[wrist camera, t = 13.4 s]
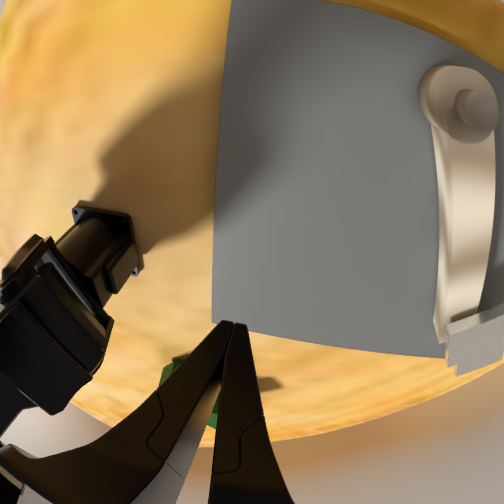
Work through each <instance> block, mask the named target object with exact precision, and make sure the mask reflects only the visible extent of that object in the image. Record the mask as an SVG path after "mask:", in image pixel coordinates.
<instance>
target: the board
mask: <svg viewBox="0 0 504 504" xmlns="http://www.w3.org/2000/svg"><path fill="white" fill-rule="evenodd" d="M437 65H451V66H459V67H467V68H471V69H473V70H475V71H477V72H479V73H480V74H482V75H483V76H484V77H485V78H486V79H487V81H488V82H489V83H490V85H491V86H492V88H493V90H494V92H495V95H496V98H497V103H498V109H499V121H498V124H497V126H496V127H495V128H494V141H495V204H494V217H493V228H492V236H491V244H490V251H489V258H488V263H487V269H486V274H485V279H484V284H483V289H482V293H481V297H480V302H479V306H478V309H477V313H476V314H478V313H480V312H483V311H485V310H488V309H490V308H493V307H495V306H498V305H500V304H503V303H504V73H502V72H501V71H499V70H498V69H496V68H495V67H493V66H492V65H490V64H488V63H487V62H485V61H483V60H482V59H480V58H478V57H477V56H475V55H473V54H471V53H470V52H468V51H466V50H464V49H462V48H460V47H458V46H456V45H454V44H452V43H450V42H448V41H446V40H444V39H442V38H440V37H438V36H436V35H433V34H431V33H429V32H426V31H424V30H422V29H419V28H417V27H414V26H412V25H409V24H406V23H404V22H401V21H398V20H395V19H392V18H389V17H386V16H383V15H380V14H377V13H374V12H370V11H367V10H363V9H359V8H355V7H351V6H347V5H343V4H339V3H334V2H329V1H324V0H232V2H231V10H230V18H229V26H228V35H227V44H226V54H225V63H224V74H223V85H222V96H221V109H220V122H219V136H218V151H217V167H216V186H215V207H214V233H213V268H212V323H216V324H218V323H219V322H220V321H221V320H228V321H232V322H234V323H236V322H238V323H243V324H246V325H247V327H248V331H252V332H257V333H261V334H266V335H271V336H276V337H282V338H287V339H292V340H298V341H304V342H309V343H315V344H321V345H328V346H334V347H341V348H348V349H355V350H362V351H370V352H378V353H387V354H396V355H406V356H417V357H430V358H444V359H445V350H446V342H444V343H440V344H439V341H438V337H437V334H436V330H435V326H434V323H433V318H434V310H435V302H436V292H437V280H438V265H439V195H438V180H437V168H436V158H435V150H434V142H433V135H432V129H431V123H430V122H429V121H428V120H427V119H426V118H425V116H424V114H423V113H422V111H421V108H420V105H419V101H418V86H419V83H420V80H421V78H422V76H423V75H424V73H425V72H426V71H427V70H429V69H430V68H432V67H434V66H437Z"/></svg>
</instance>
